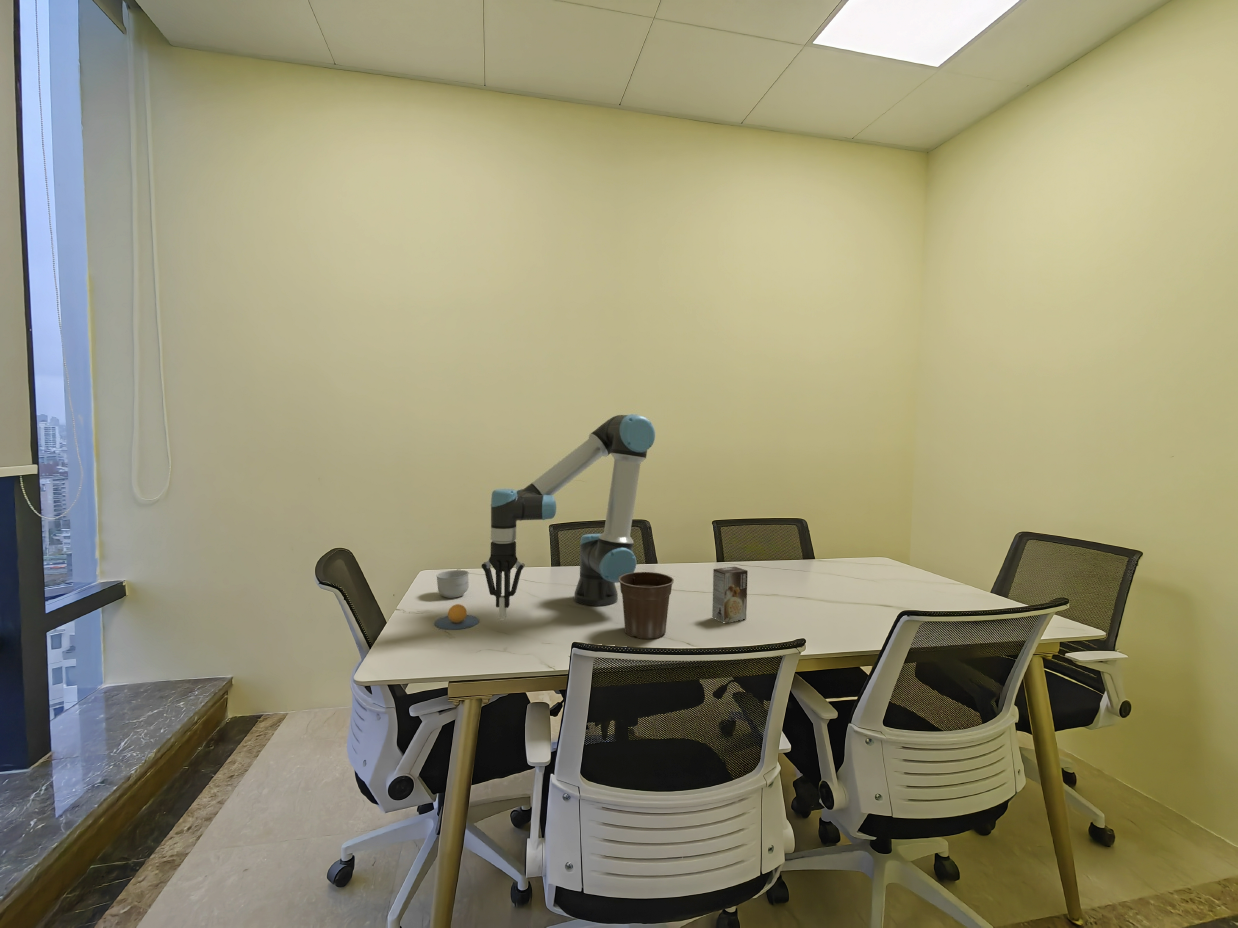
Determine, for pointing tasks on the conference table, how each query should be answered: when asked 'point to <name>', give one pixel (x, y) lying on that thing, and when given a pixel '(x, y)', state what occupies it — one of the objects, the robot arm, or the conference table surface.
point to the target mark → (449, 625)
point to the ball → (457, 613)
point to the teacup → (453, 583)
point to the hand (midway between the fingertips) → (502, 617)
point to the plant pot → (645, 603)
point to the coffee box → (729, 594)
